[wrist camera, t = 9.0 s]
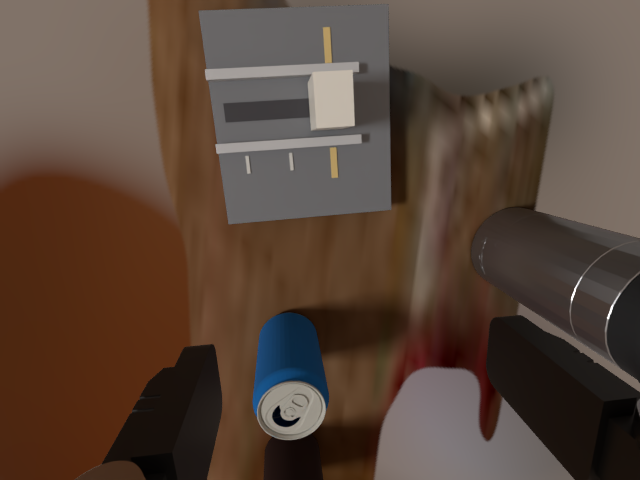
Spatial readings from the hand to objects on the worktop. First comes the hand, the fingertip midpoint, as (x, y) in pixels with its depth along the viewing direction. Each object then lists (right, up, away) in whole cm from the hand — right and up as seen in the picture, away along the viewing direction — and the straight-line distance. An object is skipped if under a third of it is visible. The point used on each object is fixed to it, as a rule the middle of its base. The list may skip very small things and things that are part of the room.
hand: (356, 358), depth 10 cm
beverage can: (-5, -7, +30) cm, 31 cm away
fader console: (-3, +15, +24) cm, 28 cm away
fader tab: (0, +15, +21) cm, 26 cm away
